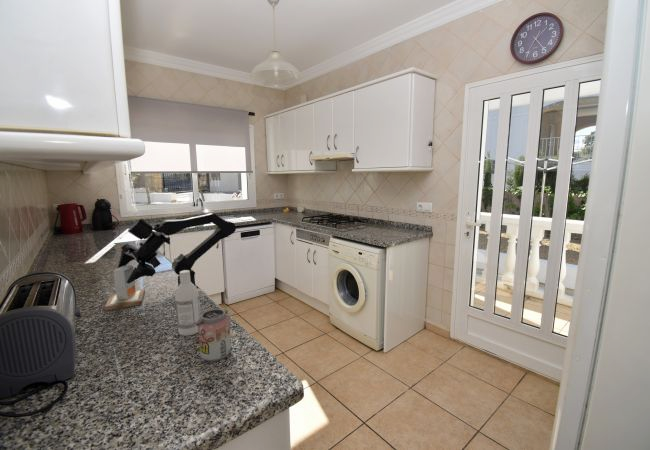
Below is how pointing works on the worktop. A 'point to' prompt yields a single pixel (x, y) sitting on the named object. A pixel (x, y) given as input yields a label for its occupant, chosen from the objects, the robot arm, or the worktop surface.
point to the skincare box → (124, 282)
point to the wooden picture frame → (125, 300)
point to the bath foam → (187, 305)
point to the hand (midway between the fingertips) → (122, 276)
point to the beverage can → (214, 334)
